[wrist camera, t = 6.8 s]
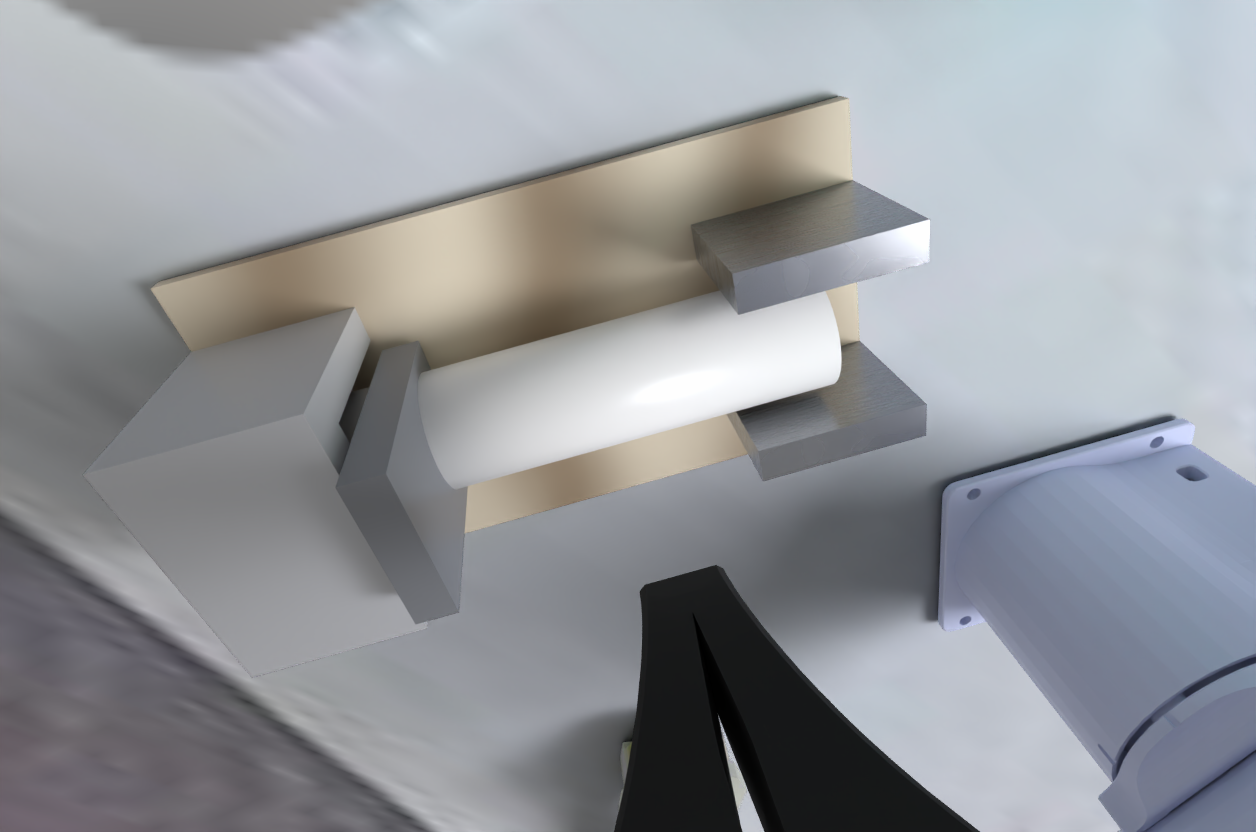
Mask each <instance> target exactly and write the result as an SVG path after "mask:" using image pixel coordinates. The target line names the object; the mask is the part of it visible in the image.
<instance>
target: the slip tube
mask: <svg viewBox="0 0 1256 832" xmlns="http://www.w3.org/2000/svg"><path fill="white" fill-rule="evenodd" d="M840 372H841V344H840V337H839V332H838V327H837V323H836V319H835V316H834V312H833V309H832V306H831V303H830V301H829V298H828V296H827V294H826V291H823V292H820V293H816V294H812V295H809V296H805V297H802V298H798V299H794V300H791V301H787V302H784V303H780V304H776V305H773V306H769V307H766V308H762V309H758V310H755V311H751V312H747V313H744V314H740V315H738V314H737V312H736V311H735V310H734V309H733V307H732V306H731V305H730V303H729V302H728V301H727V299H726V298H725V297H724V295H723V294H722V293H721V291H720V290H719V291H715V292H712V293H708V294H704V295H701V296H697V297H694V298H690V299H686V300H683V301H679V302H675V303H672V304H668V305H665V306H661V307H657V308H654V309H650V310H646V311H643V312H639V313H636V314H632V315H628V316H625V317H621V318H617V319H614V320H610V321H607V322H603V323H599V324H596V325H592V326H589V327H585V328H581V329H578V330H574V331H570V332H567V333H563V334H560V335H556V336H552V337H549V338H545V339H541V340H538V341H534V342H531V343H527V344H523V345H520V346H516V347H512V348H509V349H505V350H502V351H498V352H494V353H491V354H487V355H483V356H480V357H476V358H473V359H469V360H465V361H462V362H458V363H454V364H451V365H447V366H444V367H440V368H436V369H433V370H431V368H430V366H429V364H428V361H427V359H426V357H425V354H424V352H423V350H422V347H421V345H420V343H419V341H415V342H411V343H407V344H404V345H400V346H396V347H393V348H389V349H385V350H382V352H381V355H380V358H379V361H378V364H377V367H376V370H375V373H374V376H373V379H372V381H371V384H370V387H368V388H364V389H360V390H357V391H353V392H351V393H350V396H349V398H348V401H347V403H346V406H345V409H344V411H343V414H342V416H341V419H340V422H339V425H340V427H341V428H342V430H343V432H344V434H345V436H346V438H347V439H348V441H349V443H350V446H349V449H348V452H347V455H346V458H345V461H344V464H343V466H342V469H341V472H340V475H339V478H338V481H337V484H336V487H335V488H336V490H337V492H338V493H339V495H340V497H341V498H342V500H343V502H344V504H345V505H346V507H347V509H348V510H349V512H350V514H351V516H352V517H353V519H354V521H355V522H356V524H357V526H358V527H359V529H360V531H361V533H362V534H363V536H364V538H365V539H366V541H367V543H368V544H369V546H370V548H371V550H372V551H373V553H374V555H375V556H376V558H377V560H378V561H379V563H380V565H381V567H382V568H383V570H384V572H385V573H386V575H387V577H388V578H389V580H390V582H391V584H392V585H393V587H394V589H395V590H396V592H397V594H398V595H399V597H400V599H401V601H402V602H403V604H404V606H405V607H406V609H407V611H408V612H409V614H410V616H411V618H412V619H413V621H414V623H415V624H419V623H423V622H427V621H430V620H434V619H437V618H441V617H444V616H448V615H451V614H455V613H458V612H459V607H460V592H461V578H462V563H463V548H464V534H465V519H466V505H467V490H468V486H470V485H474V484H478V483H481V482H485V481H488V480H492V479H495V478H499V477H503V476H506V475H510V474H513V473H517V472H521V471H524V470H528V469H531V468H535V467H538V466H542V465H546V464H549V463H553V462H556V461H560V460H564V459H567V458H571V457H574V456H578V455H581V454H585V453H589V452H592V451H596V450H599V449H603V448H607V447H610V446H614V445H617V444H621V443H624V442H628V441H632V440H635V439H639V438H642V437H646V436H650V435H653V434H657V433H660V432H664V431H667V430H671V429H675V428H678V427H682V426H685V425H689V424H692V423H696V422H700V421H703V420H707V419H710V418H714V417H718V416H721V415H725V414H728V413H732V412H735V411H739V410H743V409H746V408H750V407H753V406H757V405H761V404H764V403H768V402H771V401H775V400H778V399H782V398H786V397H789V396H793V395H796V394H800V393H804V392H807V391H811V390H814V389H818V388H821V387H825V386H829V385H832V384H835V383H836V382H837V380H838V378H839V376H840Z"/></svg>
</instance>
